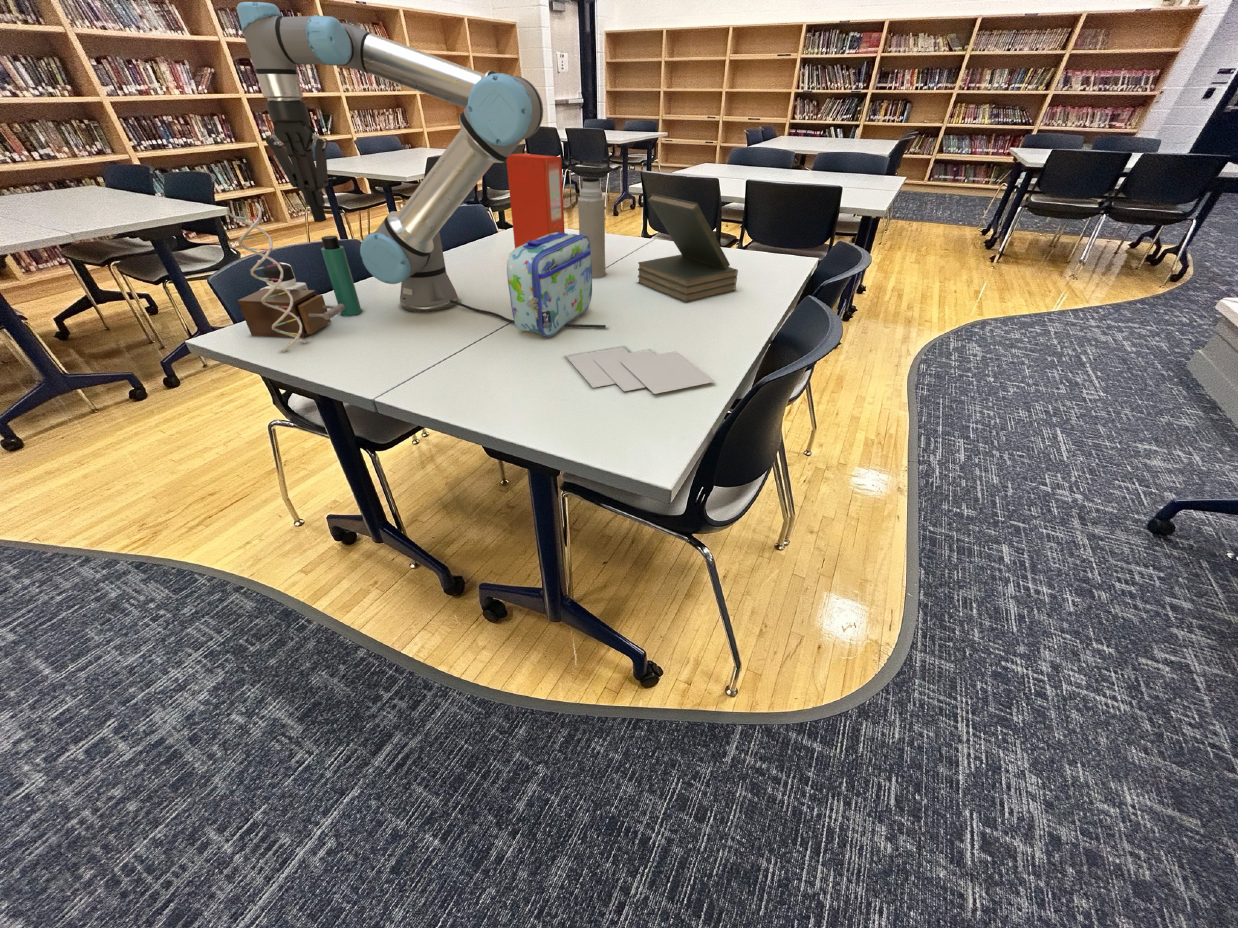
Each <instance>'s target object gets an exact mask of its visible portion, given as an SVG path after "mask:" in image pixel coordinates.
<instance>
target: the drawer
mask: <svg viewBox="0 0 1238 928" xmlns="http://www.w3.org/2000/svg"><path fill="white" fill-rule="evenodd" d="M295 306H296V309H297V312H298V315H299V317H300V320H301V323H302V326H303V329H304V331H305V330H306V332H307V334H310V335H313V334H314V333H316V332H317V331H319V330H320V329H322V328H324V327H325V326H328V325H329V324H330V323H331V322H332V321H331V319H332V318H333V317H335V316H336V315H338V314H341V313H340V312H341V311H343V310H344V309H345V306H344V305H343V304H339V305H338V304H337V305H329V304H328V305H327V304H326V301H325V300H324V296H323V294H317V296H315V297H313V298H312V297H309V298H307V299H305V300H303V301H302V302H300V303H298V304H296V305H295Z"/></svg>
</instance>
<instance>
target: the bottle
mask: <svg viewBox="0 0 1238 928" xmlns="http://www.w3.org/2000/svg"><path fill="white" fill-rule="evenodd" d="M320 239H321V242H322V245H323V247H321V248H320V250H321V253H322V258H323V260H324V263H325V268H326V270H327V274H328V276H329V280H330V283H331V287H332V290H333V294H334V296H335V301H336V303H337V305H339V304H343V305H344V306H345V309H344V310H343V311H341V312H340V313H339V314H340V315H341V316H345V317H352V316H357V315H359V314H361V313H362V308H361V304H360V300H359V297H358V293H357V290H356V285H355V283H354V279H353V275H352V271H351V268H350V265H349V261H348V257H347V254H346V249H345V247H344V245H340V242H339V238H338V236H337V235H326V236H325V235H324V236H322V237H320Z"/></svg>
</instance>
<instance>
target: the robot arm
mask: <svg viewBox="0 0 1238 928" xmlns="http://www.w3.org/2000/svg"><path fill="white" fill-rule="evenodd" d="M236 13H237V15H238V19H239V23H240V27H241V33H242V35H243V37H244V40H245V44H246V47H247V49H248V51H249V54H250V58H251V61H252V64H253V66H254V71H255V75H256V78H257V81H258V84H259V88H260V91H261V94H262V97H263V98H265V99H267V101H265V106H266V109H267V112H268V113H267V114H268V116H269V119H270V121H271V123H272V125H273V130H272V132H273V134H272V135H271V136H270V137H269V138H265V143H266V144H267V145H268V147H269V148H270V149H271V150H272V151H273V153H274V155H275V158H276V159H277V161H278V162H279V165H280V167H281V169H282V170H283V172H284V174H285V176H286V178H287V180H288V182H289V183H290V185H291V187H292V188H296V189H299V190H300V191H301V192H302V193H301V194H302V195H303V200H304V202H305V205H306V206H307V207H309V208H310V211H311V215H312V219H313V222H314V223H323V222H325V221H327V216H326V213H325V210H324V206H326V205H325V204H326V202H325V201H326V200H325V198H324V195H323V190H322V189H324V188H325V187H328V186H329V176H328V175H329V174H328V162H327V159H328V158H327V148H328V145H329V140H328V139H327V138H325V137H321V136H320V135H318V134H316V132H315V129H314V128H313V126H312V124H311V118H310V115H309V112H308V111H309V110H308V107H307V104H306V102H305V101H304V100H302V99H303V98H304V94H303V91H302V86H301V83H300V79H299V76H298V72H297V67H296V65H321V66H322V65H323V66H333V67H334V66H335V67H347V68H351V69H354V70H357V71H360V72H362V73H365V74H368V75H372V76H374V77H378V78H380V79H383V80H386V81H388V82H391V83H394V84H397V85H399V86H402V87H405V88H407V89H411V90H413V91H415V92H419V93H421V94H424V95H427V96H430V97H433V98H435V99H438V100H441V101H444V102H447V103H449V104H452V105H454V106H457V107H459V108H463V111H462V112H461V114H460V115H459V117H458V122H459V128H460V129H459V131H458V132H457V134H455V136H454V138H453V139H452V140H451V142H449V144H448V146H447V147H446V148H445V150H444V151H443V152H442V153H441V155H440V156H439V157H438V159H437V160H436V162H435V163H434V164H433V166H432V168H431V169H430V170H429V171H428V173H427V174H426V175H425V177H424V178H423V179H422V181H421V182H420V184H419V185H418V186H417V187H416V189H415V190H414V192H413V193H412V194H411V196H410V197H409V199H408V200H407V201H406V202H405V204H404V206H402V208H401V209H400V211H398V210H397V211H395V210H392V211H390V212H389V213H388V214H387V216H386V217H385V218H384V220H382V222H381V224H380V225H379V226H378V228H377V229H376V230H375V231H373V232H371V233H368V234H366V235H365V237H364V239H362V241H361V244H360V247H359V255H360V257H361V260H362V264H363V266H364V268H365V269H366V270H367V271H368V273H370V275H371V276H373V277H374V279H376V280H378V281H380V282H382V283H383V284H389V285H396V284H400V295H399V302H400V306H401V308H402V309H403V310H406V311H409V312H414V313H430V312H438V311H443V310H447V309H449V308H453V307H454V306H455V305H457V306H458V307H461V308H464V309H468V310H470V311H474V312H477V313H481V314H487V315H491V316H494V317H496V318H499V319H501V320H503V321H506V322H507V323H509V324H510V323H511V324H514V325H515V323H514V319H510V318H508V317H505V316H503V315H501V314H499V313H497V312H493V311H490V310H484V309H480V308H476V307H472V306H469V305H467V304H464V303H462V302H459V298H458V293H457V291H456V289H455V287H454V284H453V282H452V281H451V279H450V277H449V275H448V273H447V268H446V262H445V256H444V251H443V245H442V239H441V233H440V231H441V229H442V228H443V226H444V225H445V224H446V223H447V221H448V220H449V219H450V218H451V216H453V214H454V213H455V212H456V210H457V209H458V208H459V207H460V206H461V204H462V203H463V202H464V200H465V199H466V198H467V197H468V196H469V194H470V193H471V192H472V190H473V189H474V188H475V186H476V185H477V184H478V183H479V182H480V180H481V179H482V178H483V177H484V176H485V174H486V173H487V172H488V170H489V169H490V168H491V167H492V166H493V164H497V163H498V164H503V163H505V162H506V161H507V160H506V159H507V158H508V157H509V156H510V154H513V152H514V151H515V150H516V149H517V147H518V146H519V145H520V143H522V141H524V140H527V139H529V138H531V137H532V136H534V135H535V134H536V133H537V131H539V129H540V127H541V126H542V122H543V119H544V105H543V99H542V97H541V94H540V93H539V91H538V89H537V88H536V87H535V86H534V84H533V83H532V82H530V81H529V80H528V79H526V78H524V77H523V76H519V75H510V74H507V73H502V72H496V71H493V70H489V69H488V71H486V72H484V73H483V72H480V71H478V70H475V69H472V68H469V67H466V66H464V65H462V64H458V63H455V62H453V61H451V60H447V59H445V58H443V57H439V56H436V55H434V54H431V53H428V52H425V51H423V50H420V49H418V48H414V47H412V46H409V45H406V44H403V43H400V42H398V41H395V40H392V39H390V38H387V37H384V36H382V35H379V34H376V33H373V32H370V31H367V30H365V29H363V28H361V27H360V26H358V25H355V24H352V23H349V22H346V23H343V22H340V21H339V19H338V18H336V17H334V16H330V15H329V16H327V15H320V14H314V15H301V16H283V15H282V14H281V11H280V8H279V7H278V6H277V5H276V4H274V3H270V2H262V1H242V2H239V3H238V4H237V6H236ZM312 145H314V152H313V149H312ZM314 159H315V160H314ZM606 326H607V325H606V324H585V323H584V324H583V323H582V324H581V323H579V324H577V323H576V324H575V323H568V324H566V325H565V326H564V327H563V328H591V329H596V328H597V329H606Z"/></svg>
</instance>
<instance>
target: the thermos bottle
mask: <svg viewBox="0 0 1238 928" xmlns="http://www.w3.org/2000/svg"><path fill="white" fill-rule="evenodd" d="M599 182H600V178H599V177H596V176H586V177H585V176H584V177H582V188H581V189H580V190H579V197H578V198H577V208H578V209H577V210H578V212H577V213H578V235H579V234H584V235H586V236H587V237H588V239H589V243H590V251H591V264H592V279H597V278H602V277H604V276H606V222H605V221H606V220H605V219H606V218H605V217H606V216H605V214H606V213H605V210H606V209H605V198H604V197H603V190H602V189H601V188H600V183H599Z"/></svg>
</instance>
